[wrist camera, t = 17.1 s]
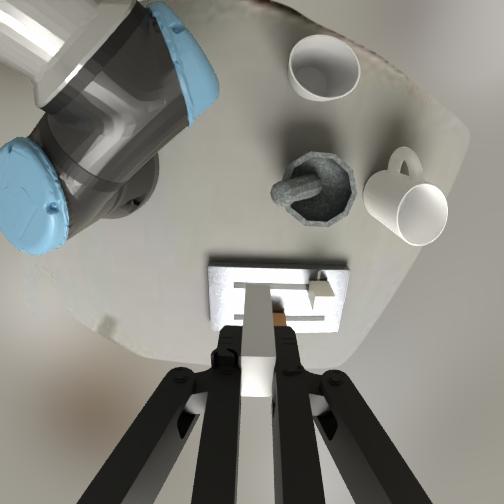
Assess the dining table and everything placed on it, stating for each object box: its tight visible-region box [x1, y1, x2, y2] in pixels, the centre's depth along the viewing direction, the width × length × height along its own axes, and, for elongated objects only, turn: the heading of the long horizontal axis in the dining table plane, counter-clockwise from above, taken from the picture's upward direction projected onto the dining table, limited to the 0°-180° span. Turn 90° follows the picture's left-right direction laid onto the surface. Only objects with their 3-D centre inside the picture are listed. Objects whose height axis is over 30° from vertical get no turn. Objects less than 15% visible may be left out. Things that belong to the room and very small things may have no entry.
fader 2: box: [308, 281, 336, 312], centre depth 43 cm, size 3×3×5 cm
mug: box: [363, 147, 448, 246], centre depth 35 cm, size 8×12×12 cm
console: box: [208, 261, 350, 332], centre depth 47 cm, size 22×12×2 cm, turn 88°
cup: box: [288, 35, 360, 101], centre depth 31 cm, size 8×8×10 cm
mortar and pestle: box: [270, 151, 357, 227], centre depth 36 cm, size 11×9×12 cm
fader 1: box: [273, 313, 287, 326], centre depth 45 cm, size 3×3×5 cm
